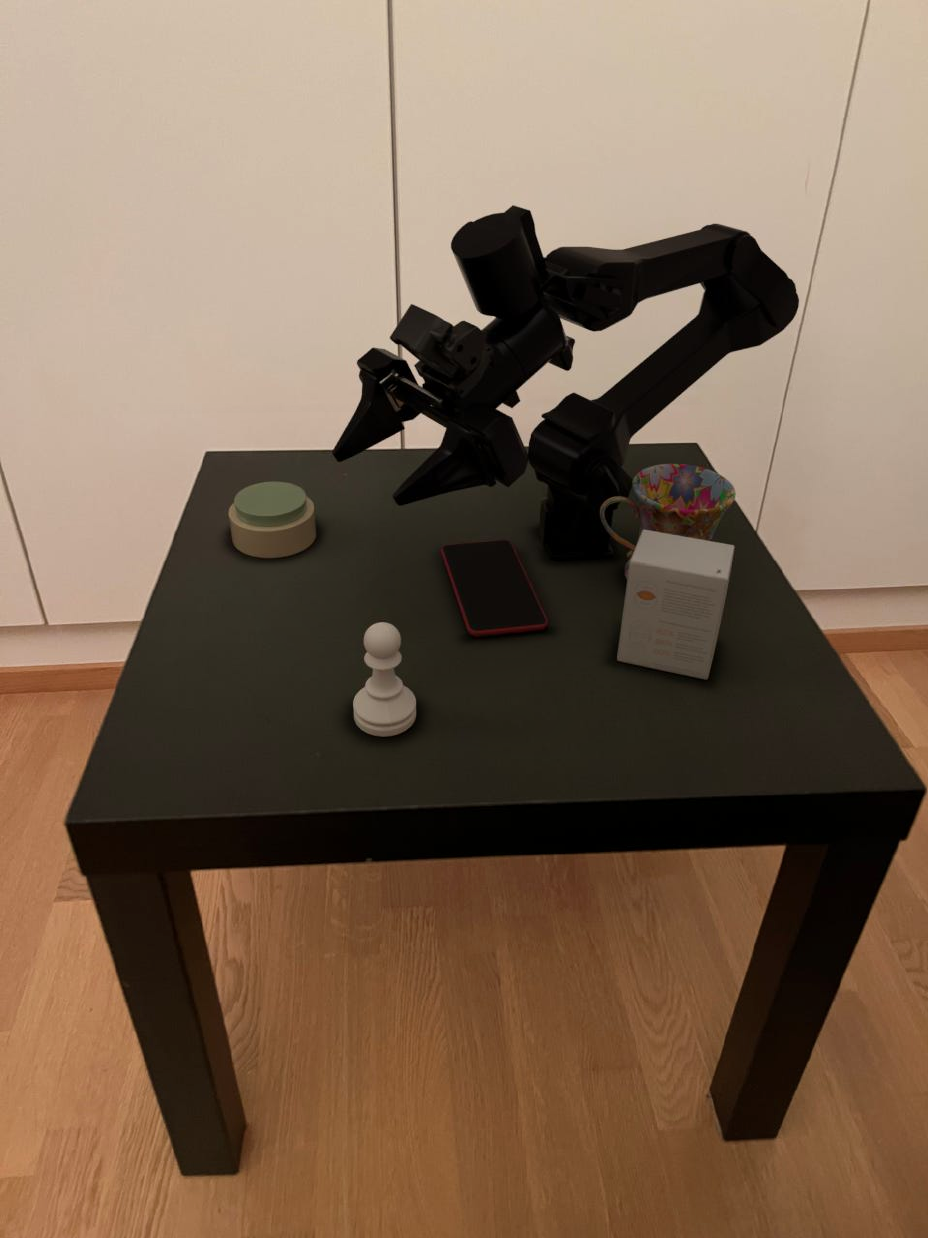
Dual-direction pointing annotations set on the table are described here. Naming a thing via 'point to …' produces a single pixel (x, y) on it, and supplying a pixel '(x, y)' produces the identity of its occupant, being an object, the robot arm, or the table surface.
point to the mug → (676, 502)
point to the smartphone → (492, 588)
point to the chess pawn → (383, 686)
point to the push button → (272, 520)
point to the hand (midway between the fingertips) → (364, 478)
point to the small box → (674, 603)
